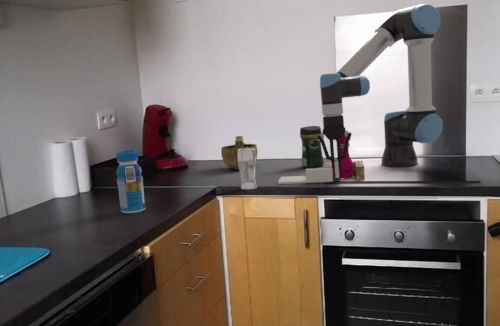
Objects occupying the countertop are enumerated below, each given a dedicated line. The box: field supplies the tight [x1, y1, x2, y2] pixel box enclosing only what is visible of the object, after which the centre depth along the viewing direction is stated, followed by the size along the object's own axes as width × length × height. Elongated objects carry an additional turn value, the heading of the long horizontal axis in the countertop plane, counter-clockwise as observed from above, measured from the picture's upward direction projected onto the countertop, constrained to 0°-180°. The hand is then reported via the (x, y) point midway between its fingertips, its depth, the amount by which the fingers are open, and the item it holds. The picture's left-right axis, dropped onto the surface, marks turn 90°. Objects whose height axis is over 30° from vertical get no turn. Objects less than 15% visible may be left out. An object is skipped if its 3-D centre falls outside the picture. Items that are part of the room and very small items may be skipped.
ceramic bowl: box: [220, 135, 258, 171], centre depth 232 cm, size 22×17×15 cm
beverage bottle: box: [115, 149, 146, 214], centre depth 163 cm, size 8×8×20 cm
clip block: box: [324, 160, 366, 181], centre depth 196 cm, size 15×14×5 cm
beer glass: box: [238, 148, 258, 191], centre depth 186 cm, size 7×7×15 cm
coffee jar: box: [299, 125, 325, 169], centre depth 224 cm, size 10×8×19 cm
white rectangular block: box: [305, 167, 334, 184], centre depth 188 cm, size 10×2×5 cm, turn 80°
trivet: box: [277, 175, 307, 185], centre depth 195 cm, size 11×11×1 cm
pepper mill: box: [336, 133, 353, 179], centre depth 194 cm, size 7×7×20 cm
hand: (337, 177), depth 187 cm, fingers closed
